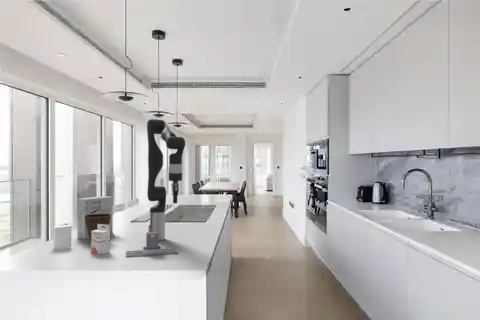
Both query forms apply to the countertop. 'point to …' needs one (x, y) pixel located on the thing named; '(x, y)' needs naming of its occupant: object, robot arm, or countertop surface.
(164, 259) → the countertop surface
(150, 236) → the module
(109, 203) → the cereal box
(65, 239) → the white box
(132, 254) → the rail
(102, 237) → the ink cartridge box
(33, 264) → the countertop surface
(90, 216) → the plant pot
